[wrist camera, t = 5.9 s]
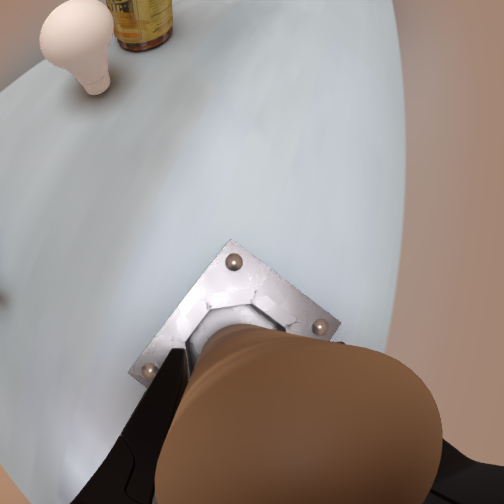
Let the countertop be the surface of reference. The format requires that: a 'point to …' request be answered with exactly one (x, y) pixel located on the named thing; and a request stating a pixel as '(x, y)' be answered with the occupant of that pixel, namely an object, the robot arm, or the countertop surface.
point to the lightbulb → (80, 41)
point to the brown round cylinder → (298, 425)
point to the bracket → (233, 310)
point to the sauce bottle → (141, 22)
